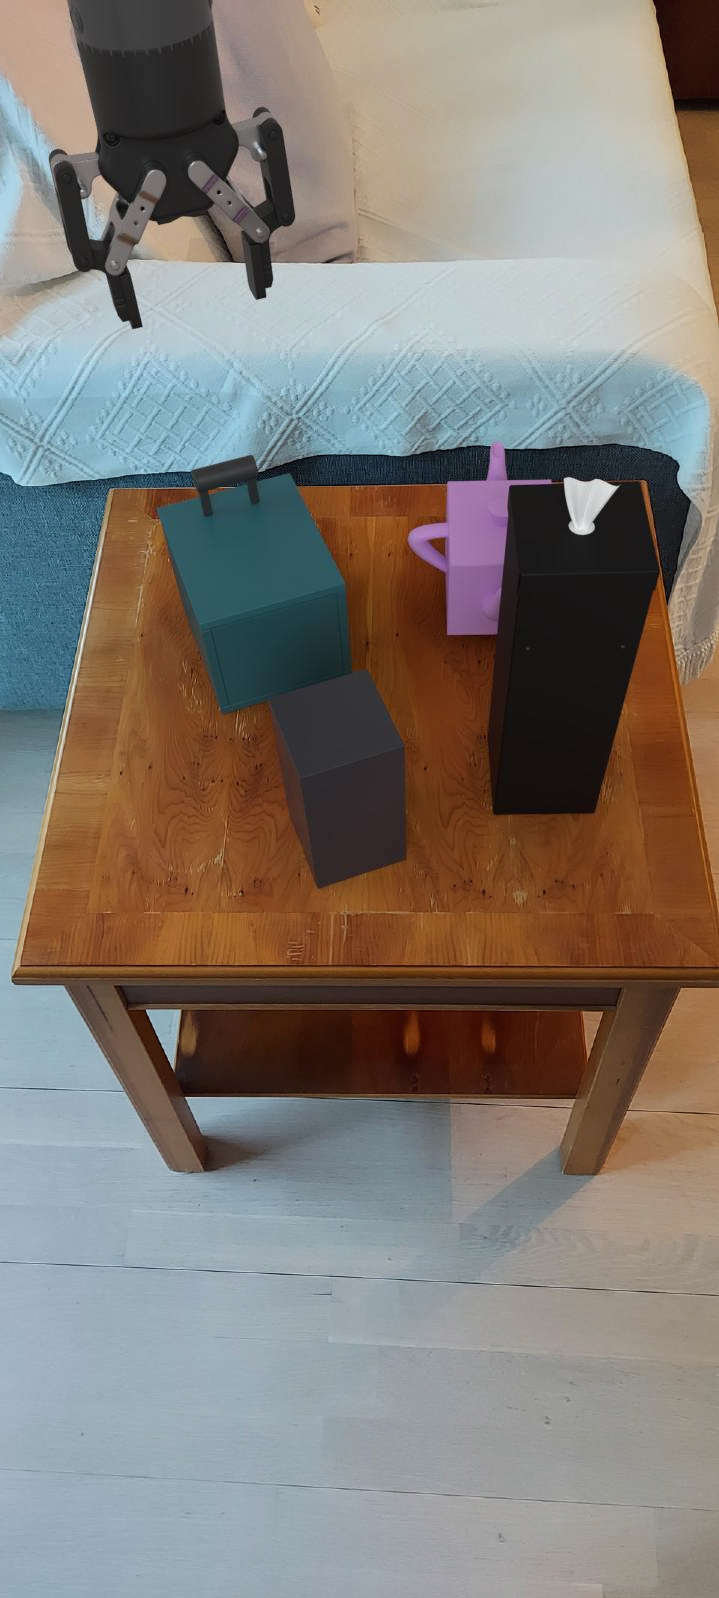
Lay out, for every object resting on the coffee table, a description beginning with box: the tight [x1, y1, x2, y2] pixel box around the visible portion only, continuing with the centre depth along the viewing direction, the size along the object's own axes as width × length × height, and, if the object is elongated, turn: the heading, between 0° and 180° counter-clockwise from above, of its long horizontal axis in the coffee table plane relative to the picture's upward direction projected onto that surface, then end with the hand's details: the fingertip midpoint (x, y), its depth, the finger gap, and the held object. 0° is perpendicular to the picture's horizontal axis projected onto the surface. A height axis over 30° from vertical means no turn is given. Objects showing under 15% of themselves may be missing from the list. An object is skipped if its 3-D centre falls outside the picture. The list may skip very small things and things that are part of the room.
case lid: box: [156, 454, 347, 631], centre depth 78 cm, size 14×12×5 cm
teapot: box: [407, 441, 553, 636], centre depth 85 cm, size 15×13×11 cm
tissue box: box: [486, 476, 661, 816], centre depth 67 cm, size 8×8×28 cm
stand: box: [267, 668, 407, 890], centre depth 70 cm, size 7×7×14 cm
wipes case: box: [160, 523, 353, 715], centre depth 84 cm, size 14×12×10 cm
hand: (196, 307), depth 67 cm, fingers open, 8 cm apart
